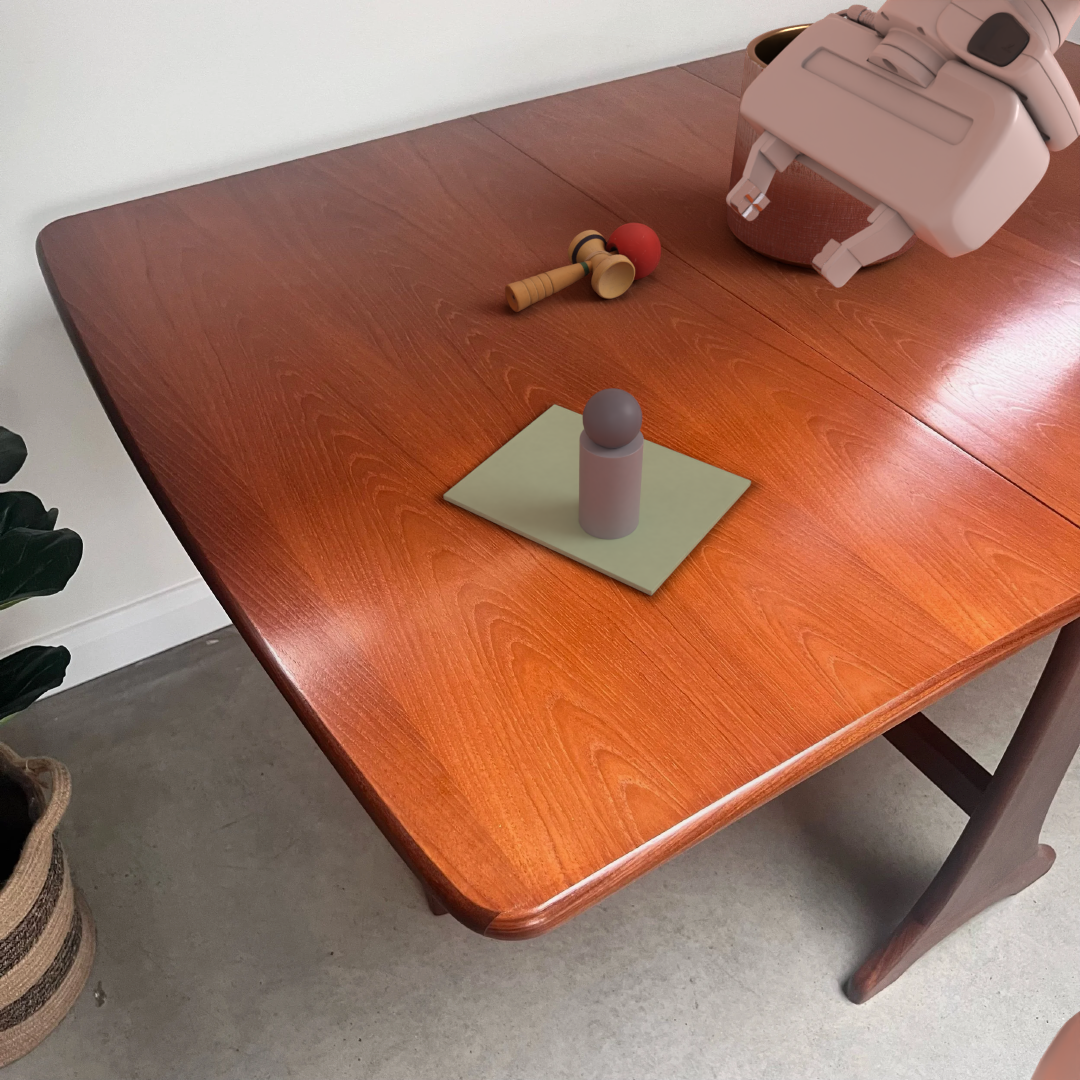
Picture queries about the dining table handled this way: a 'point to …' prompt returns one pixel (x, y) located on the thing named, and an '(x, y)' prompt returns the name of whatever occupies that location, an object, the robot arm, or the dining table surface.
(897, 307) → the dining table surface
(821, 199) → the planter
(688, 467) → the mat
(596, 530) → the ball
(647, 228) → the kendama
